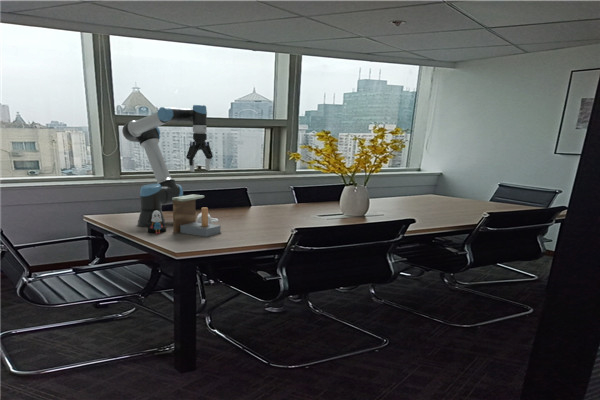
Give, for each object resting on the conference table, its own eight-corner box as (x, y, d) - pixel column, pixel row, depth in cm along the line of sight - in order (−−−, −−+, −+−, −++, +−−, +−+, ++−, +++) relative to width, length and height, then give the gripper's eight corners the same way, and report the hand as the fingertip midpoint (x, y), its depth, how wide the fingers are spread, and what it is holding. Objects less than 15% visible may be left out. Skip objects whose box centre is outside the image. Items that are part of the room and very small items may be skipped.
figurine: (148, 235, 233) (148, 212, 231) (146, 230, 243) (146, 209, 241) (167, 233, 237) (167, 211, 235) (164, 229, 247) (164, 208, 245)
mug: (197, 229, 250) (197, 215, 249) (196, 225, 260) (196, 212, 258) (218, 228, 253) (219, 214, 252) (217, 225, 263) (217, 211, 262)
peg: (200, 233, 239) (200, 208, 237) (204, 232, 242) (204, 207, 240) (205, 234, 238) (205, 208, 236) (209, 233, 241) (209, 207, 239)
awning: (172, 232, 239) (172, 197, 236) (193, 227, 254) (193, 194, 251) (184, 234, 236) (183, 199, 233) (204, 228, 251) (204, 195, 248)
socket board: (180, 232, 240) (180, 225, 240) (194, 228, 251) (194, 221, 250) (206, 236, 232) (206, 229, 232) (220, 232, 243) (220, 225, 242)
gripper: (190, 132, 234) (190, 172, 238) (218, 133, 257) (218, 169, 260) (179, 132, 238) (179, 171, 241) (208, 133, 260) (208, 169, 263)
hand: (200, 170), depth 250 cm, fingers open, 13 cm apart
